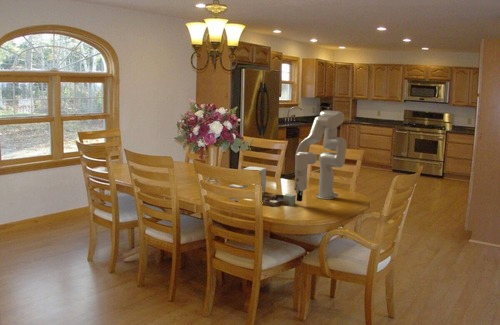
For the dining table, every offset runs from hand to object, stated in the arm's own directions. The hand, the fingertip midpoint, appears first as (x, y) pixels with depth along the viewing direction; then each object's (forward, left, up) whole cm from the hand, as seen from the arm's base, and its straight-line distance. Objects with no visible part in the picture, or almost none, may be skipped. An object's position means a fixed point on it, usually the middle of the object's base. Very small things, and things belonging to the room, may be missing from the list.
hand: (299, 200), depth 316 cm
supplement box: (+42, -17, -3) cm, 46 cm away
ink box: (+36, +19, -3) cm, 41 cm away
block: (+7, 0, -3) cm, 8 cm away
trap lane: (+17, 0, -3) cm, 17 cm away
